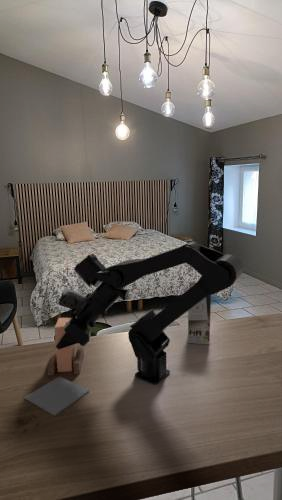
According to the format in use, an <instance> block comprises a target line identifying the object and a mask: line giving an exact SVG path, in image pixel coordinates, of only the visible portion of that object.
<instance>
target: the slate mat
mask: <svg viewBox="0 0 282 500" xmlns="http://www.w3.org/2000/svg"><path fill="white" fill-rule="evenodd" d="M89 392H90V390H89V389H87V388H85V387H82V386H80V385H79V384H76V383H74V382H72V381H70V380H68V379H66V378H64V377H62V376H57V377H56V378H53V380H51V381H49V382H47V383H46V384H44V385H43V386H41V387H39V388H38V389H36V390H34V391H33V392H31V393H29V394H27V395H25V396H24V399H25V400H26V401H28V402H29V403H31V404H33V405H34V406H36V407H38V408H39V409H42V410H44V411H45V412H46V413H48V414H50V415H52V416H54V417H56V416H57V415H58V414H59V413H61V412H62V411H63V410H65V409H66V408H68V407H70V406H71V405H73V404H74V403H76V402H77V401H79V399H81V398H82V397H85V395H87V394H88V393H89Z"/></svg>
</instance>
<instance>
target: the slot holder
mask: <svg viewBox="0 0 282 500" xmlns="http://www.w3.org/2000/svg"><path fill="white" fill-rule="evenodd" d="M84 351H85V350H84V346H81V345H80V346H79V345H77V349H76V351H75V359H74V363H73V375H80V374H81V369H82V365H83V363H84V357H85V354H84ZM46 367H47V375H48V376H54V375H55V373H56V370H57V356H56V346H54V347H53V350H52V352H51V354H50V357H49V360H48V362H47V365H46Z"/></svg>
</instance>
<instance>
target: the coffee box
mask: <svg viewBox="0 0 282 500" xmlns="http://www.w3.org/2000/svg"><path fill="white" fill-rule="evenodd" d="M196 283H197V282H189V287H188V289H190V288H191V287H192V286H193V285H195V284H196ZM211 300H212V295H210V296H207V297H205V298H204V299H203V300H202V301H200V302H199V303H198V304H196V305H195V306H194V307H192V308H191V309H190V310H188V311H187V312H188V313H187V314H188V315H187V318H188V319H187V343H189V344H197V345H198V344H199V345H209V344H210V337H211V336H210V335H211V315H212V314H211V311H212V310H211V307H212V305H211V304H212V301H211Z"/></svg>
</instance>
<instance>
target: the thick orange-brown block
mask: <svg viewBox="0 0 282 500" xmlns="http://www.w3.org/2000/svg"><path fill="white" fill-rule="evenodd" d="M70 319H71V317H58V319H57V322H55V323H56V324H55V326H54V328H53V329H54V339H55V346H56V345H57V344H58V342H59V341H60V339H61V338H62V337H63V335H64V334H65V331H64V328H65V325H66V322H67V323H68V321H69V320H70ZM75 350H76V349H75V344H74V345H71V346H68V347H65V348H62V349H57V348H56V356H57V368H56V370H57V373H62V372H63V373H65V372H73V370H74V366H73V363H74V359H75V355H76V351H75Z"/></svg>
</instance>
